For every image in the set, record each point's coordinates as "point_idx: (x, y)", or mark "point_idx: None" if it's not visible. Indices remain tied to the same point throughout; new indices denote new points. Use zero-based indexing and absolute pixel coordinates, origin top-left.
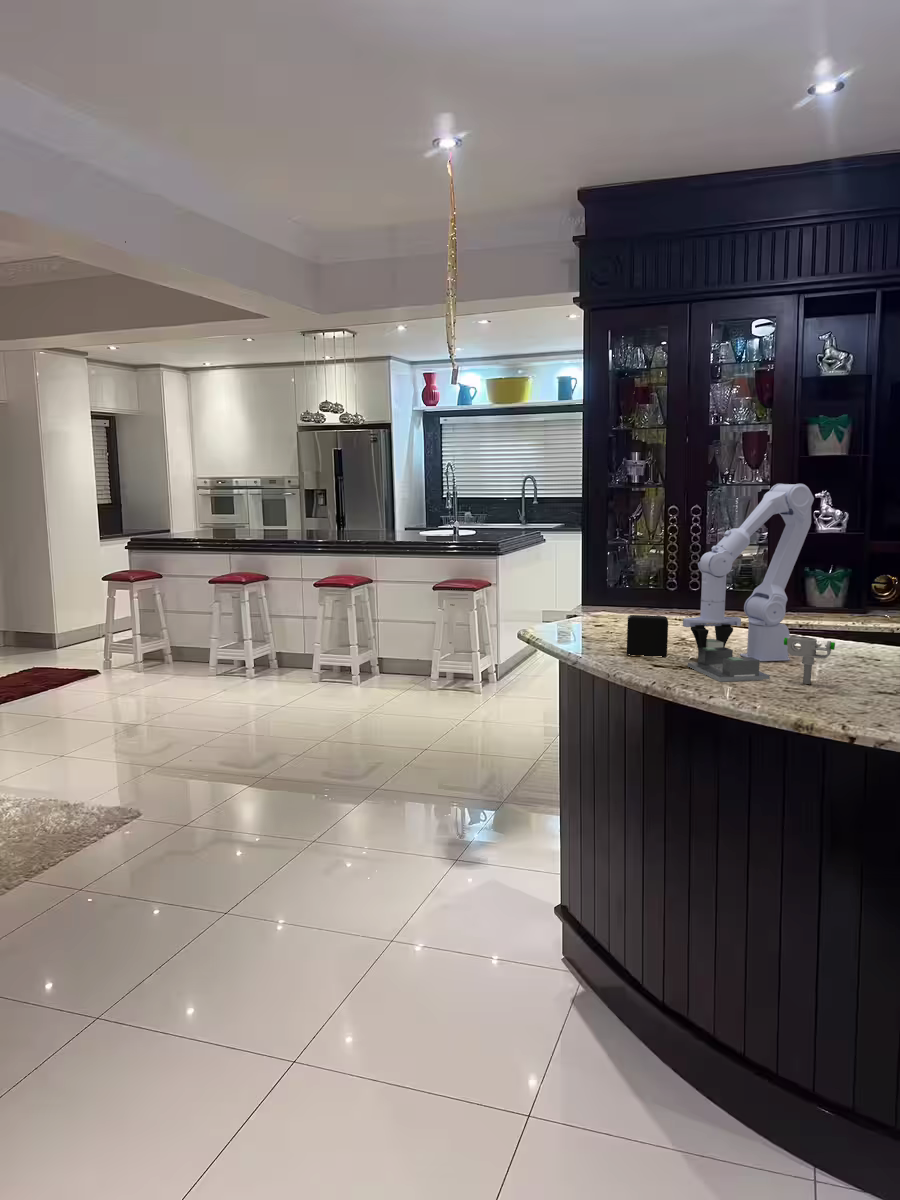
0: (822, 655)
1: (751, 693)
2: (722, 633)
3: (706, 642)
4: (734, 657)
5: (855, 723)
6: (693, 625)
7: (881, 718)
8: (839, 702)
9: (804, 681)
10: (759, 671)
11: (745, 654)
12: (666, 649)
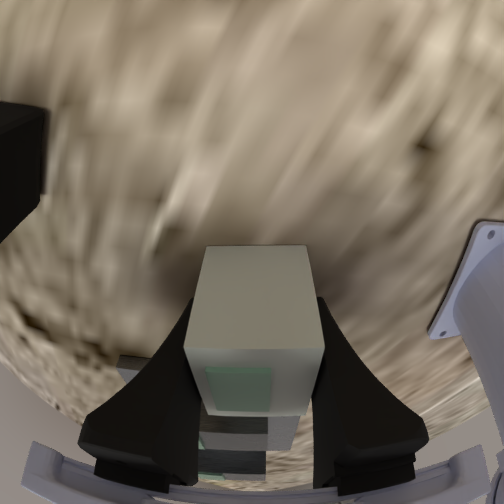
0: None
1: None
2: (316, 452)
3: (204, 402)
4: (214, 475)
5: (258, 487)
6: (99, 477)
7: (293, 485)
8: (298, 475)
9: None
10: (292, 438)
11: (486, 247)
12: (18, 222)
